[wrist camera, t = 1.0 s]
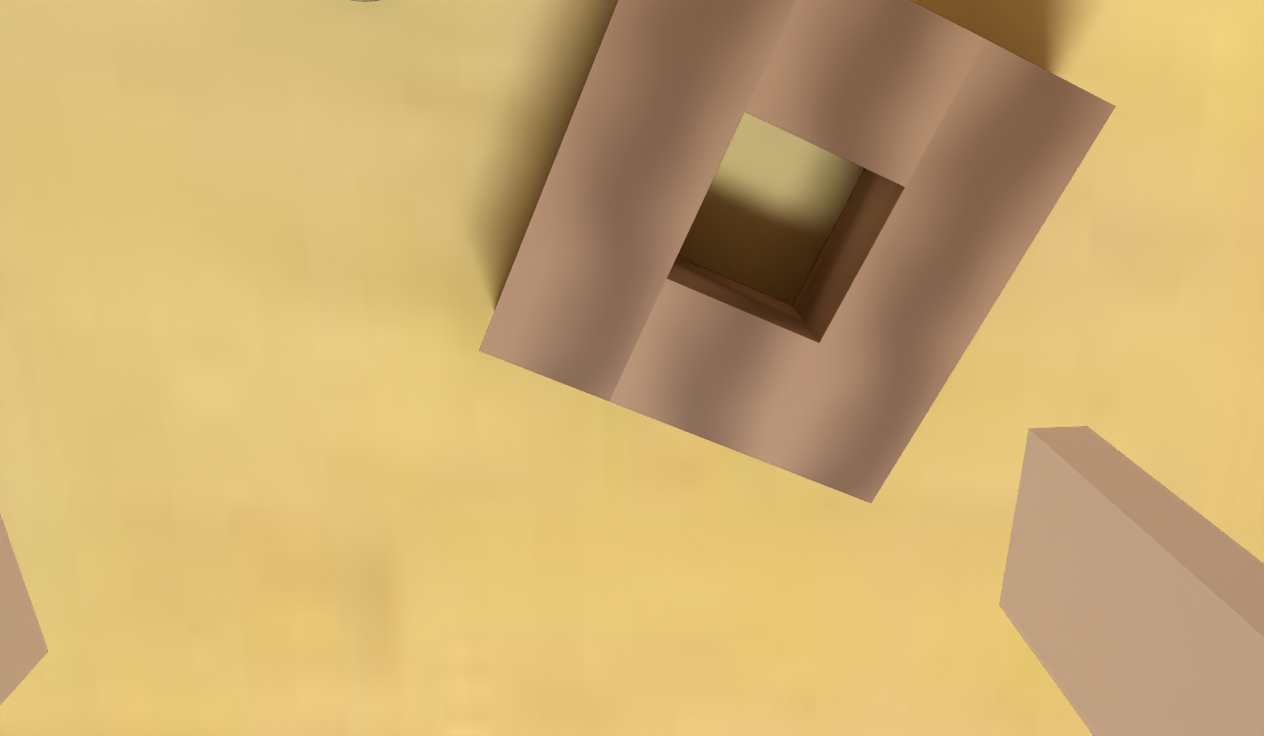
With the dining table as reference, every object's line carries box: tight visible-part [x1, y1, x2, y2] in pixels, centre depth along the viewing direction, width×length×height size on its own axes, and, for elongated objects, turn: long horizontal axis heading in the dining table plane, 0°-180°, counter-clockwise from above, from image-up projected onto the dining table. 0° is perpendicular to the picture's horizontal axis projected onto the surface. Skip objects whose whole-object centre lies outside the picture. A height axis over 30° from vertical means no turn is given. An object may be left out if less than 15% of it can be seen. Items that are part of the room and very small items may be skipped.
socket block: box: [479, 0, 1116, 503], centre depth 30 cm, size 16×16×4 cm
